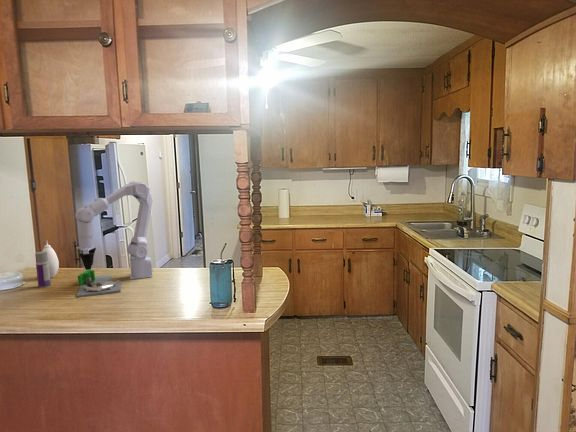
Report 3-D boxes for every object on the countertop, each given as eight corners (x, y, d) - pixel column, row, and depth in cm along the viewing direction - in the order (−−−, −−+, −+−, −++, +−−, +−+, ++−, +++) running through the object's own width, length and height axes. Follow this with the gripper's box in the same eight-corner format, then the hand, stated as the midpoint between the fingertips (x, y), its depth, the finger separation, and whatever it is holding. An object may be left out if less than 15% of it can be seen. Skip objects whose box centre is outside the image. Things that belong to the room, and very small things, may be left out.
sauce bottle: (43, 276, 194) (39, 238, 192) (61, 274, 196) (58, 237, 194) (38, 280, 187) (34, 241, 184) (57, 278, 189) (54, 240, 187)
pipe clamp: (87, 285, 177) (86, 275, 177) (79, 286, 177) (77, 276, 177) (98, 277, 188) (96, 268, 188) (90, 278, 188) (88, 269, 188)
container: (35, 287, 176) (32, 253, 174) (45, 284, 181) (42, 251, 179) (43, 288, 175) (39, 254, 173) (53, 285, 179) (49, 251, 177)
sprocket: (116, 281, 179) (115, 271, 179) (115, 289, 168) (114, 278, 167) (84, 285, 175) (84, 274, 174) (82, 293, 163) (81, 282, 163)
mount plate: (120, 282, 181) (120, 280, 181) (120, 292, 167) (120, 290, 167) (80, 287, 175) (80, 285, 175) (77, 297, 162) (76, 295, 161)
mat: (111, 276, 192) (111, 275, 192) (110, 283, 180) (110, 283, 180) (95, 278, 190) (95, 277, 189) (93, 285, 178) (92, 285, 178)
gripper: (77, 234, 178) (80, 264, 180) (73, 239, 165) (76, 272, 167) (95, 232, 181) (98, 262, 183) (92, 238, 168) (95, 270, 169)
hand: (89, 267), depth 175 cm, fingers open, 7 cm apart
